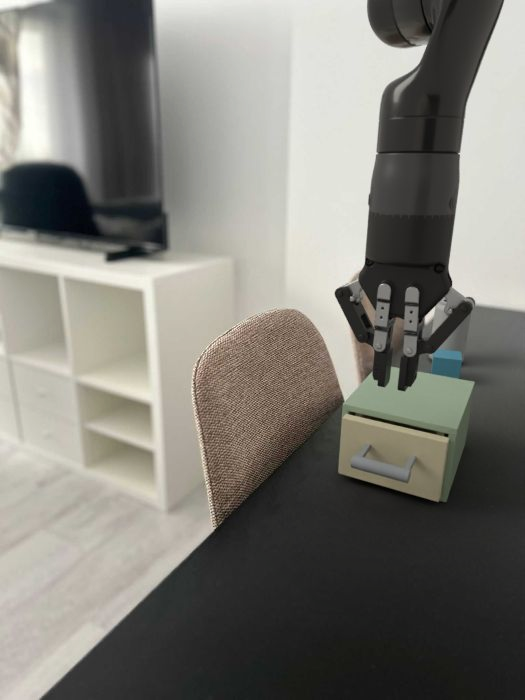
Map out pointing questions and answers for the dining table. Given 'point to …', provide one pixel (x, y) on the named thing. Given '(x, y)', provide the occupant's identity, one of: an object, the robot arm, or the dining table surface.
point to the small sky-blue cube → (447, 363)
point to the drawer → (393, 455)
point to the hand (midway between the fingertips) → (393, 385)
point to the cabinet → (420, 410)
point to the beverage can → (458, 336)
